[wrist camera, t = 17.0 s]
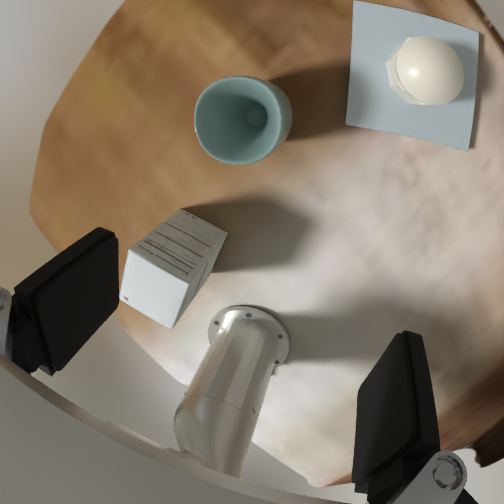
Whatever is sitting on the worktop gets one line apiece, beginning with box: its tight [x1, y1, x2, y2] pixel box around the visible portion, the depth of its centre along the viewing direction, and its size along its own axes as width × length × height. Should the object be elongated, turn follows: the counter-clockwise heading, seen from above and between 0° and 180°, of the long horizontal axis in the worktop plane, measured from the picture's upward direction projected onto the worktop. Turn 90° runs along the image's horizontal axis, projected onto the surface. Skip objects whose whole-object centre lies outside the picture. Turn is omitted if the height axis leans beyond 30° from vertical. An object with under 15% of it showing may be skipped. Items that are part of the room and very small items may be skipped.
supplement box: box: [119, 209, 228, 329], centre depth 38 cm, size 7×7×13 cm
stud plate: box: [345, 1, 479, 152], centre depth 25 cm, size 14×14×6 cm
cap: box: [386, 36, 464, 105], centre depth 23 cm, size 6×6×6 cm
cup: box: [194, 76, 293, 165], centre depth 29 cm, size 8×8×10 cm
